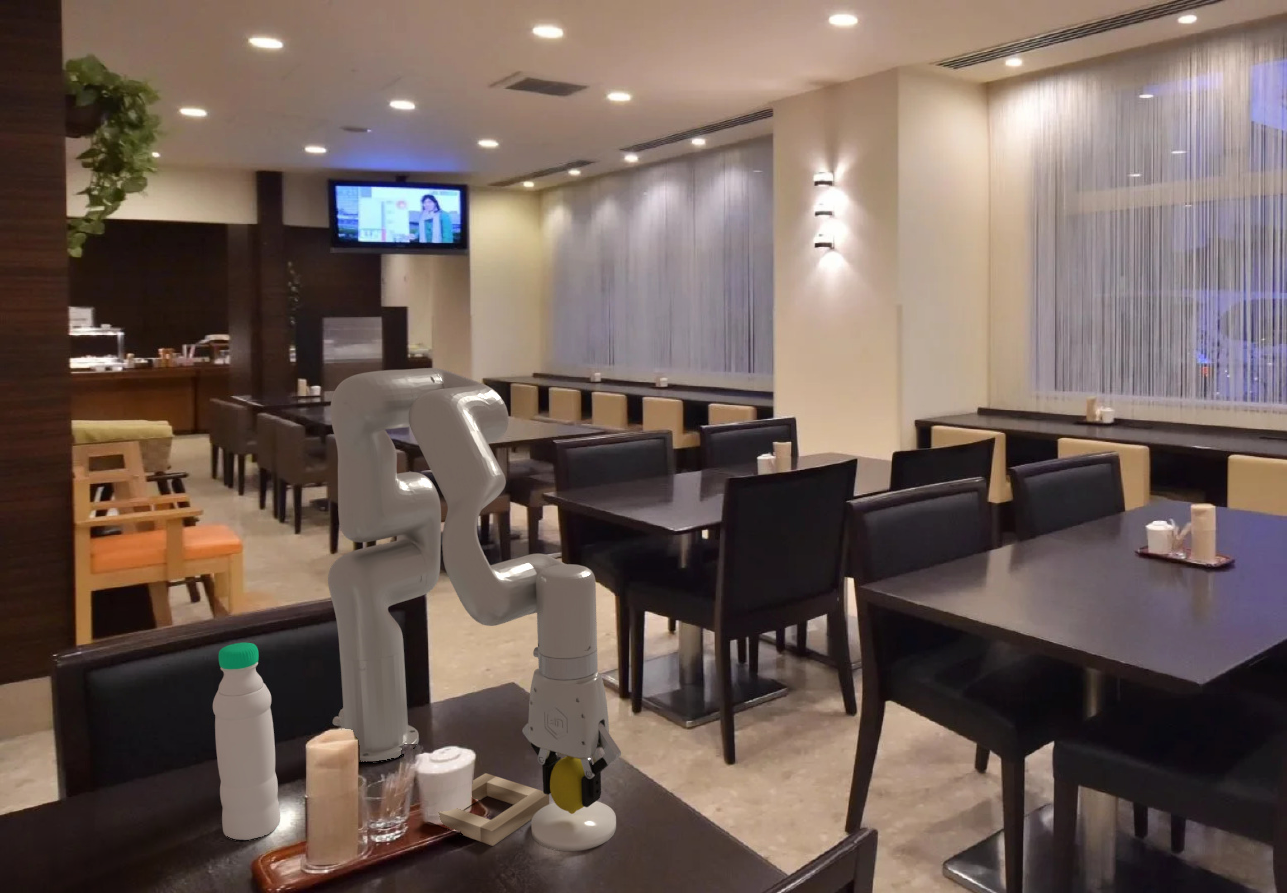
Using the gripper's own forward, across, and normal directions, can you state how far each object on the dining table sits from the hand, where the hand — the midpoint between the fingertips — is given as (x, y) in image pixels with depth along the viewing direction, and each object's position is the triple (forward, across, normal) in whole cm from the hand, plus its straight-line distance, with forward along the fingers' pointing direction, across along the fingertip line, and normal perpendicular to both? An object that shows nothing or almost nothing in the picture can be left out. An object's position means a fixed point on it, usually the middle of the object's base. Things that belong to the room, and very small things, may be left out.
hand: (571, 795), depth 127 cm
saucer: (+5, 0, 0) cm, 5 cm away
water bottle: (+5, -36, -22) cm, 43 cm away
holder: (+5, -12, -3) cm, 13 cm away
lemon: (+3, 0, 0) cm, 3 cm away
